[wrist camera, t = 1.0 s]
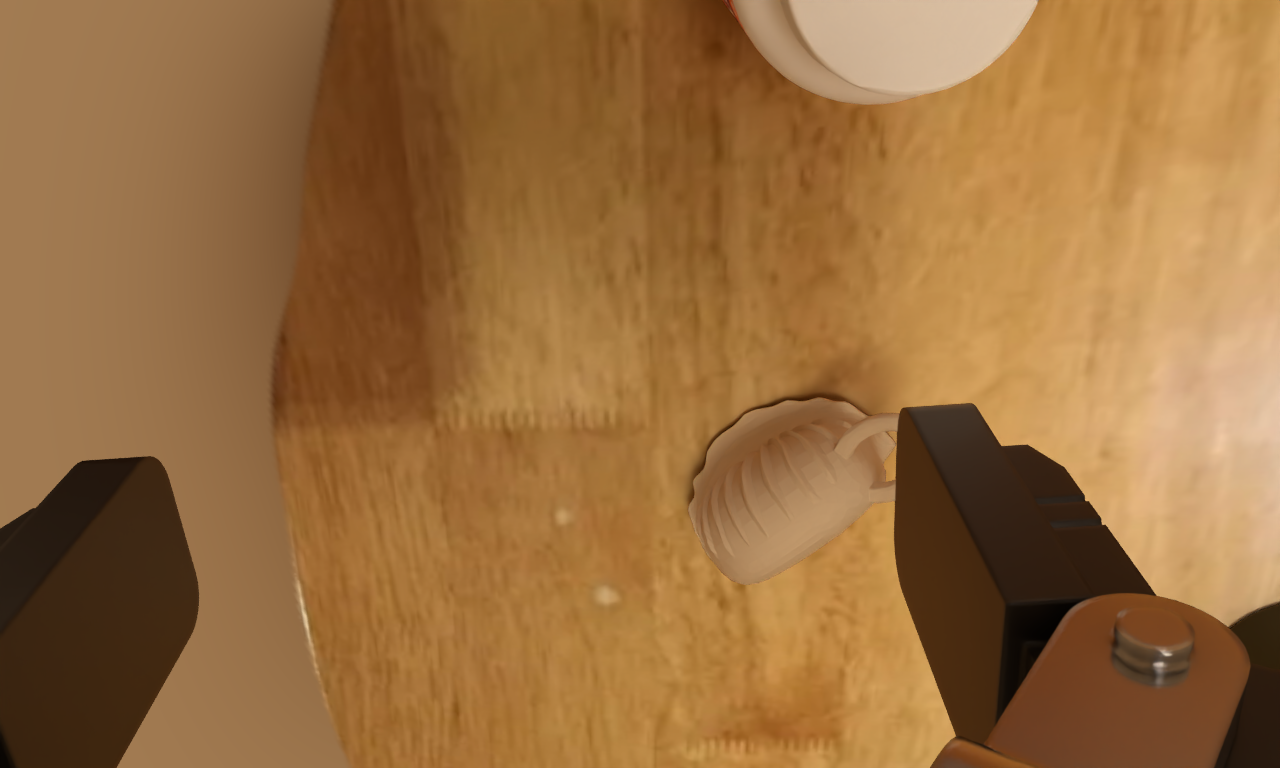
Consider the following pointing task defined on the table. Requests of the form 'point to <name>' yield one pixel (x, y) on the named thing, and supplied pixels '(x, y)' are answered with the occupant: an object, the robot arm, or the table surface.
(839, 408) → the decorative ornament
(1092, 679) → the robot arm
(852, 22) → the pill bottle
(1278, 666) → the wine bottle
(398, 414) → the table surface
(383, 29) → the table surface
